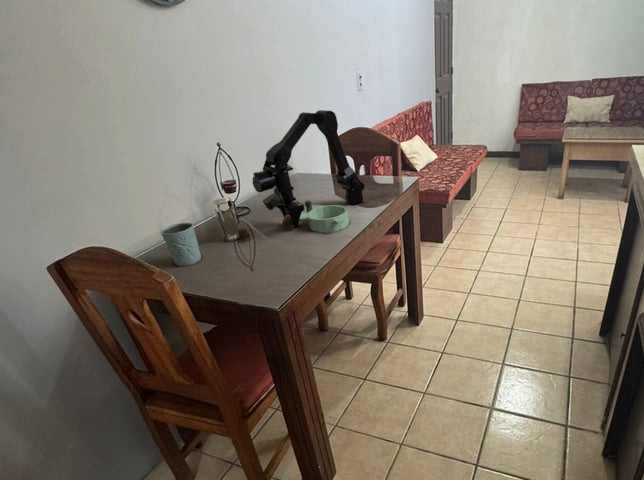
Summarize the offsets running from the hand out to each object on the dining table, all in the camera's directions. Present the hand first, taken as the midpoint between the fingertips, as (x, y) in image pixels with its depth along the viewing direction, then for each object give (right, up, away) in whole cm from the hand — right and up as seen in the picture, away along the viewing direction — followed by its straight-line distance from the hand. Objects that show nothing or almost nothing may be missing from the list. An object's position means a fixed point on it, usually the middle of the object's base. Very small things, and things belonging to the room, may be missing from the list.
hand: (291, 224), depth 162 cm
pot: (+14, 0, 0) cm, 14 cm away
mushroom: (0, -1, +1) cm, 2 cm away
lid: (+5, +7, +13) cm, 15 cm away
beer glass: (-22, -6, -2) cm, 23 cm away
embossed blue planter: (-32, -15, -16) cm, 39 cm away
